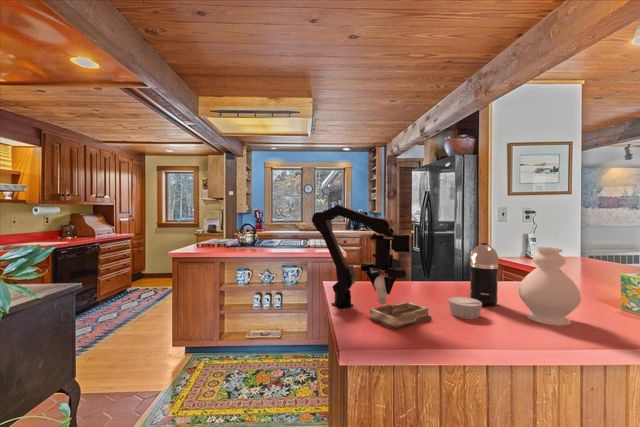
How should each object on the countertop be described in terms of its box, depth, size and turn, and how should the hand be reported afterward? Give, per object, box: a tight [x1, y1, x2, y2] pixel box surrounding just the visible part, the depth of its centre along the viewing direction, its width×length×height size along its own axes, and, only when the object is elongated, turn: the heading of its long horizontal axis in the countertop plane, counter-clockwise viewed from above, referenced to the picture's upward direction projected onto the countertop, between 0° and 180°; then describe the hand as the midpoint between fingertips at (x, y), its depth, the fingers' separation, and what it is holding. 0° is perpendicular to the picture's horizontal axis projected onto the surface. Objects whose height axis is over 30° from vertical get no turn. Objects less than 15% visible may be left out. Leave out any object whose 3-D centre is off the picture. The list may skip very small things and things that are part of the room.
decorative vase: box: [518, 246, 582, 327], centre depth 113 cm, size 18×18×25 cm
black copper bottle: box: [469, 242, 499, 307], centre depth 132 cm, size 10×10×25 cm
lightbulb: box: [374, 274, 388, 305], centre depth 123 cm, size 6×6×11 cm
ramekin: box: [448, 296, 483, 320], centre depth 117 cm, size 11×11×5 cm
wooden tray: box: [369, 301, 432, 331], centre depth 113 cm, size 12×18×4 cm, turn 124°
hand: (382, 292), depth 123 cm, fingers closed on lightbulb, 6 cm apart
